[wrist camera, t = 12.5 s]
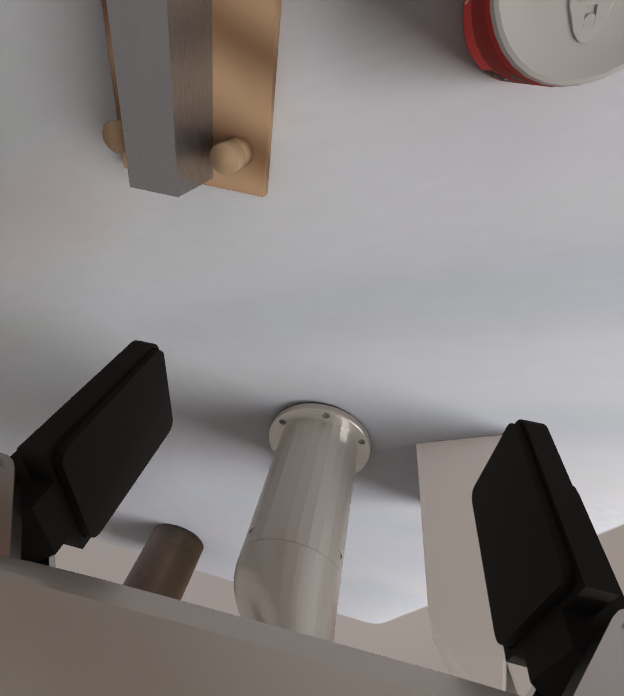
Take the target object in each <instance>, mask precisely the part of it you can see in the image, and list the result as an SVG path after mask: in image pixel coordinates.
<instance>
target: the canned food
mask: <svg viewBox="0 0 624 696" xmlns="http://www.w3.org/2000/svg"><path fill="white" fill-rule="evenodd" d="M463 30H464V36H465V40H466V44H467V47H468V50H469V52H470V54H471V56H472V58H473V60H474V61H475V62H476V64H477V65H478V66H479V68H480V69H481V70H483V71H484V72H485V73H486V74H488V75H489V76H491V77H493V78H495V79H498V80H500V81H506V82H513V83H522V84H530V85H539V86H548V87H565V86H578V85H581V84H585V83H588V82H592V81H595V80H599V79H602V78H605V77H607V76H609V75H611V74H613V73H615V72H617V71H619V70H621V69H623V68H624V0H464V8H463Z"/></svg>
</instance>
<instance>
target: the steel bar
mask: <svg viewBox="0 0 624 696" xmlns="http://www.w3.org/2000/svg"><path fill="white" fill-rule="evenodd" d="M106 3H107V11H108V18H109V26H110V34H111V42H112V50H113V57H114V65H115V73H116V81H117V89H118V96H119V104H120V112H121V120H122V128H123V135H124V143H125V151H126V159H127V167H128V174H129V182H130V187H134V188H138V189H143V190H148V191H152V192H157V193H161V194H166V195H171V196H175V197H179V196H181V195H183V194H185V193H187V192H188V191H190V190H192V189H194V188H196V187H198V186H200V185H201V184H203V183H205V182H207V181H209V180H211V179H212V178H213V167H212V165H211V162H210V152H211V149H212V148H213V67H212V0H106Z"/></svg>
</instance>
